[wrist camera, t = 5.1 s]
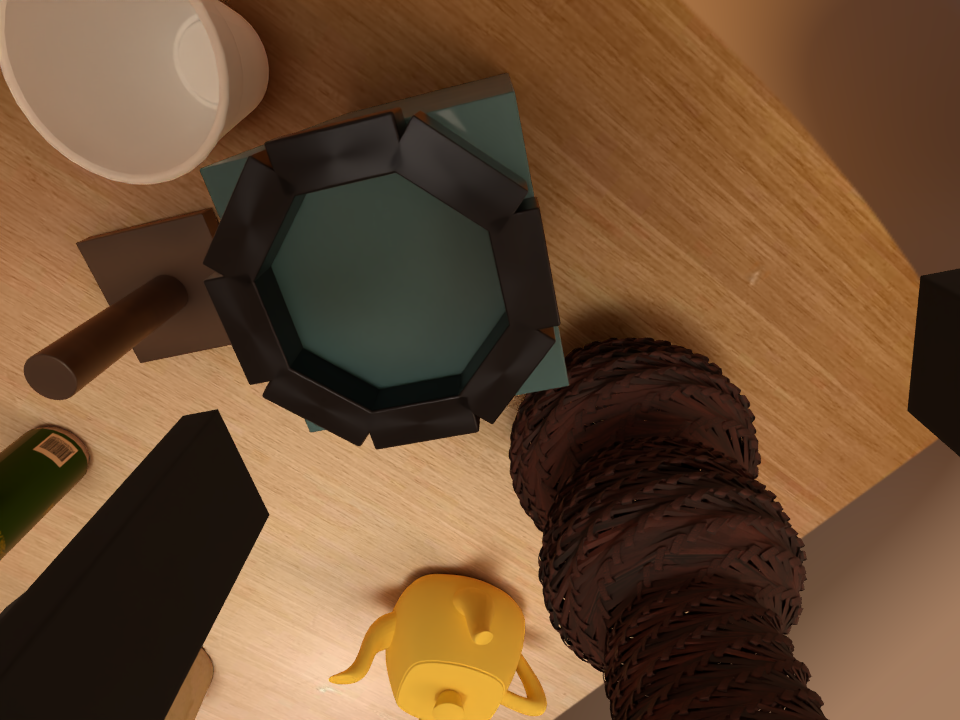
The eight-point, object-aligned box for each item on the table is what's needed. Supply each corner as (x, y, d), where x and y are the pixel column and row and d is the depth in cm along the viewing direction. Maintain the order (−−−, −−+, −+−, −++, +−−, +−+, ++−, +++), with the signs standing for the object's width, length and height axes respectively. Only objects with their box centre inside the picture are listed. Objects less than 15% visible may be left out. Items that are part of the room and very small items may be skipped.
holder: (89, 236, 41) (-85, 313, 29) (211, 207, 39) (84, 275, 27) (150, 354, 44) (20, 465, 32) (264, 330, 43) (172, 436, 31)
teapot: (491, 536, 51) (489, 636, 43) (551, 636, 57) (560, 743, 48) (353, 582, 54) (324, 685, 46) (422, 673, 60) (408, 780, 51)
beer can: (36, 411, 47) (-101, 516, 36) (103, 445, 48) (-11, 556, 38) (16, 456, 49) (-118, 568, 38) (81, 488, 50) (-33, 604, 40)
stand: (346, 113, 37) (198, 169, 19) (508, 72, 35) (514, 90, 17) (393, 268, 41) (310, 433, 23) (539, 236, 40) (569, 386, 22)
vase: (466, 410, 46) (415, 909, 19) (605, 255, 40) (814, 659, 13) (615, 510, 50) (748, 1041, 23) (761, 382, 44) (1167, 892, 17)
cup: (97, 23, 35) (-62, 11, 25) (232, -76, 32) (115, -133, 23) (208, 179, 39) (108, 222, 29) (336, 101, 36) (274, 118, 26)
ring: (178, 161, 19) (151, 170, 17) (515, 77, 17) (516, 79, 16) (298, 440, 23) (285, 466, 22) (572, 392, 22) (577, 416, 20)
